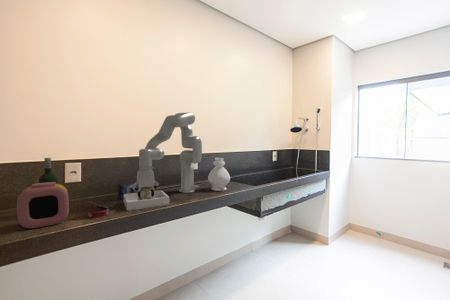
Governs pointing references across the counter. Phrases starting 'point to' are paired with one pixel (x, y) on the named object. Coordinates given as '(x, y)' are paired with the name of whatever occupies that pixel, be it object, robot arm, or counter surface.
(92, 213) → the canned food
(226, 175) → the decorative vase
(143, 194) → the plug
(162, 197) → the walled box
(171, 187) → the counter surface
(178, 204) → the counter surface
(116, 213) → the counter surface
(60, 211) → the alarm clock
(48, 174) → the wine bottle
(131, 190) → the small box
